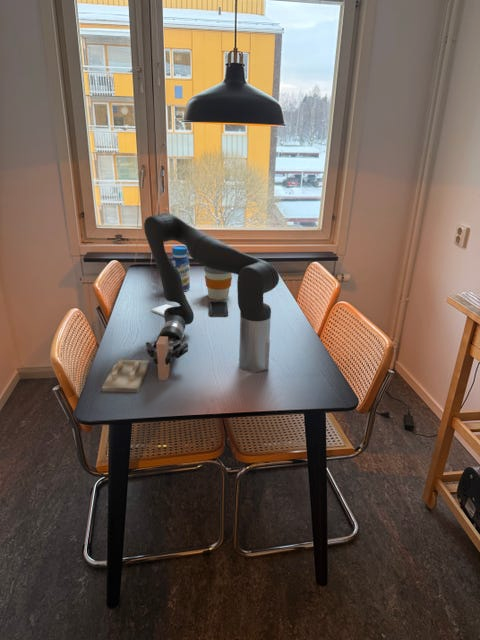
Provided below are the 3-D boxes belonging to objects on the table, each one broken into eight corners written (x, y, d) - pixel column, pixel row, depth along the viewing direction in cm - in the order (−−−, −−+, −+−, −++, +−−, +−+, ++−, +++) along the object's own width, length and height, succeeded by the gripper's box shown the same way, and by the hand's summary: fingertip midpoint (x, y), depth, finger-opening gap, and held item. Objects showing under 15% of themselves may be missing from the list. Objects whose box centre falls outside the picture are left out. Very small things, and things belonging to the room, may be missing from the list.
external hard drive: (166, 307, 180) (187, 314, 173) (151, 312, 174) (172, 321, 167) (166, 303, 180) (187, 311, 173) (151, 309, 174) (172, 317, 167)
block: (161, 371, 130) (159, 336, 126) (169, 371, 130) (168, 336, 126) (158, 380, 126) (156, 344, 121) (167, 380, 126) (165, 344, 121)
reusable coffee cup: (207, 302, 185) (207, 268, 179) (202, 292, 196) (201, 260, 190) (235, 299, 188) (236, 267, 182) (228, 290, 199) (228, 259, 193)
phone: (208, 315, 170) (209, 301, 184) (208, 317, 171) (209, 303, 184) (228, 314, 171) (227, 301, 184) (228, 317, 171) (227, 303, 185)
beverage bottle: (188, 285, 205) (187, 244, 197) (191, 291, 197) (190, 248, 189) (170, 286, 202) (168, 245, 194) (173, 292, 195) (172, 250, 187)
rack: (117, 363, 135) (116, 354, 133) (149, 364, 135) (148, 355, 133) (102, 391, 120) (100, 381, 119) (137, 392, 120) (136, 382, 119)
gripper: (149, 324, 137) (136, 349, 121) (192, 325, 137) (185, 350, 121) (150, 345, 140) (138, 372, 124) (192, 346, 140) (185, 373, 124)
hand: (161, 361), depth 123 cm, fingers closed on block, 2 cm apart
